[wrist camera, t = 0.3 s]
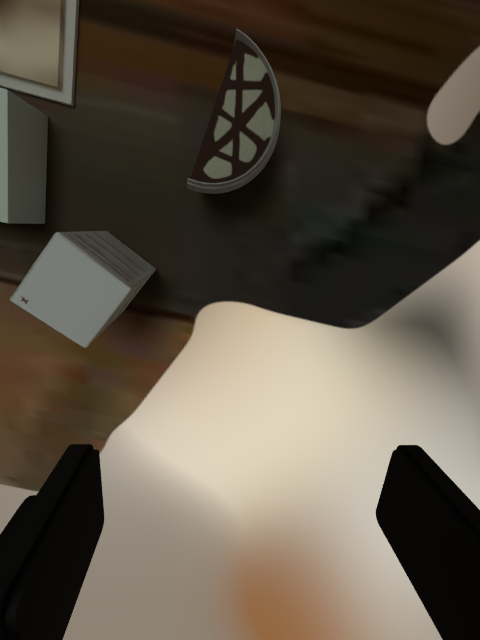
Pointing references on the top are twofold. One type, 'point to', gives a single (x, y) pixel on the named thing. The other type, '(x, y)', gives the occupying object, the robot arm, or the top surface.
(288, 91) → the top surface
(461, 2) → the top surface
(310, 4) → the top surface
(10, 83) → the mat
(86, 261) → the supplement box
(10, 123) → the open square bin
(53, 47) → the lid
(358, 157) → the top surface
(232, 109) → the grey half-round piece
